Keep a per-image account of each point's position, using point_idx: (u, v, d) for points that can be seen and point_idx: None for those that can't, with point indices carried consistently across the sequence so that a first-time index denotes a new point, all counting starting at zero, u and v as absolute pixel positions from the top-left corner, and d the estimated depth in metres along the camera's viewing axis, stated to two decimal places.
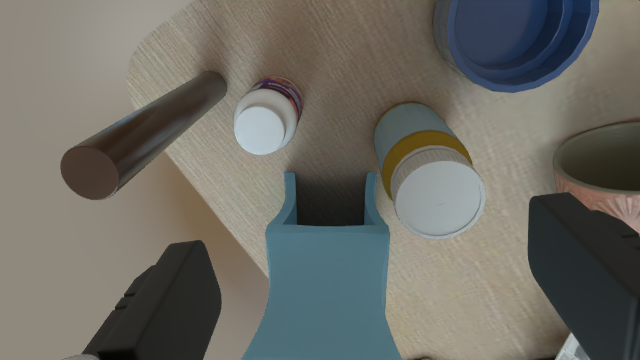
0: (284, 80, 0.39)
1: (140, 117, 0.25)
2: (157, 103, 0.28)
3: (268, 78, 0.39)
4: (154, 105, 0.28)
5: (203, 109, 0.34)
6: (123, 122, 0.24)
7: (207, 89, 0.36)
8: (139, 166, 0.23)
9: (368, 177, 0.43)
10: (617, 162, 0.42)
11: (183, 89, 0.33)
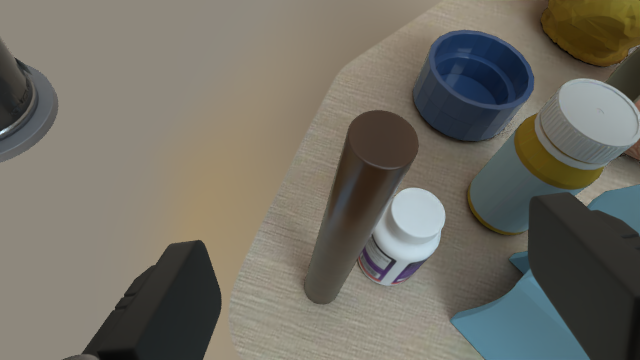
0: None
1: None
2: None
3: None
4: None
5: None
6: None
7: None
8: None
9: (515, 257, 0.38)
10: None
11: None
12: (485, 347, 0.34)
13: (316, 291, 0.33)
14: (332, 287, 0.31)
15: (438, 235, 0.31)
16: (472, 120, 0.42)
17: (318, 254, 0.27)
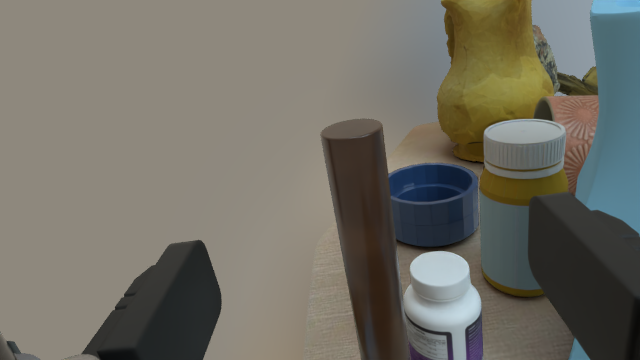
0: None
1: None
2: None
3: None
4: None
5: None
6: None
7: None
8: None
9: None
10: None
11: None
12: None
13: None
14: None
15: (474, 289, 0.29)
16: (446, 218, 0.45)
17: (364, 337, 0.24)
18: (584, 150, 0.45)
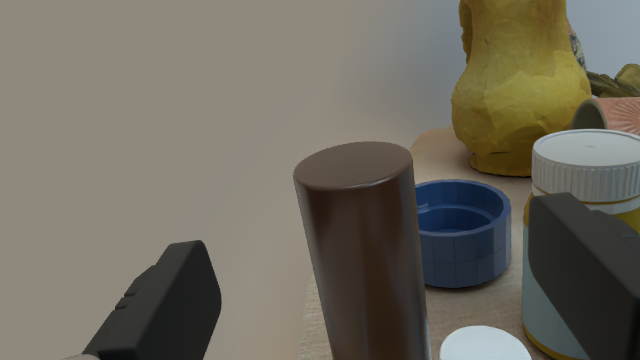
0: None
1: None
2: None
3: None
4: None
5: None
6: None
7: None
8: None
9: None
10: None
11: None
12: None
13: None
14: None
15: None
16: (473, 254, 0.35)
17: None
18: None
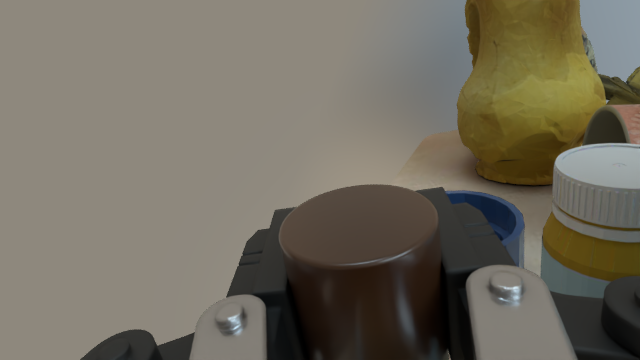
0: None
1: None
2: None
3: None
4: None
5: None
6: None
7: None
8: None
9: None
10: None
11: None
12: None
13: None
14: None
15: None
16: None
17: None
18: None
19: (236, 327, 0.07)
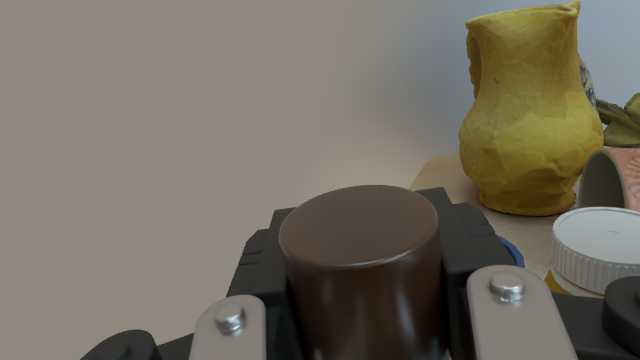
0: None
1: None
2: None
3: None
4: None
5: None
6: None
7: None
8: None
9: None
10: None
11: None
12: None
13: None
14: None
15: None
16: None
17: None
18: None
19: (236, 327, 0.07)
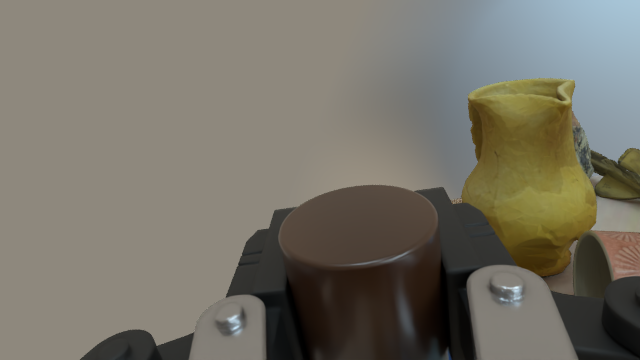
0: None
1: None
2: None
3: None
4: None
5: None
6: None
7: None
8: None
9: None
10: None
11: None
12: None
13: None
14: None
15: None
16: None
17: None
18: None
19: (235, 327, 0.07)
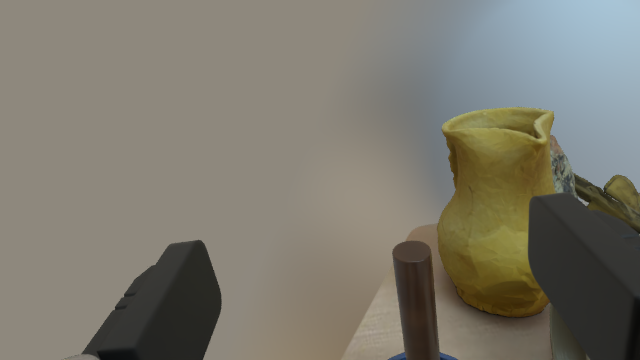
0: None
1: None
2: None
3: None
4: None
5: None
6: None
7: None
8: None
9: None
10: None
11: None
12: None
13: None
14: None
15: None
16: None
17: None
18: None
19: None
